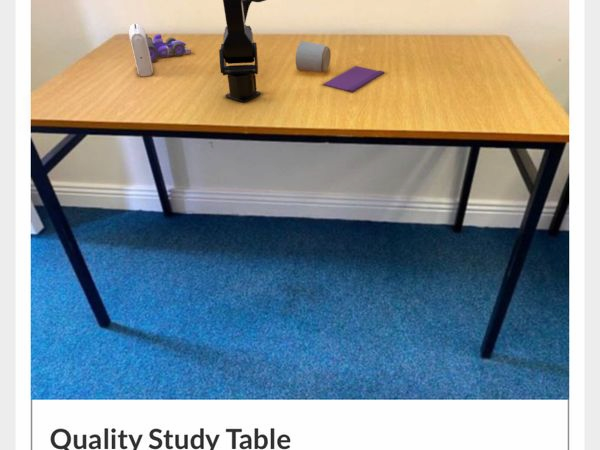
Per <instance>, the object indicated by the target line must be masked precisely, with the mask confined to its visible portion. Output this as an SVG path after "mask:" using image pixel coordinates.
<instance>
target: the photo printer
mask: <svg viewBox="0 0 600 450" xmlns="http://www.w3.org/2000/svg"><path fill="white" fill-rule="evenodd" d="M145 34H146V31H145V28H144V26H142V25H141V24H140V23H132V24H131V25H130V26H129V28H128V38H129V41H130V45H131V49H132V53H133V54H132V55H133V57H134V62H135V66H136V71H137V74H138V76H141V77H151V76H152V75H153V73H154V71H153V63H152V62H151V57H150V52H149V48H148V44H147V39H146V35H145Z"/></svg>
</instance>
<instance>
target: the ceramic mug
mask: <svg viewBox="0 0 600 450" xmlns="http://www.w3.org/2000/svg"><path fill="white" fill-rule="evenodd" d="M331 54H332V53H331V48H330V47H329V46H328V45H325V44H321V43H315V42H310V41H304V40H302V41H300V42H299V43H298V45H297V48H296V52H295V67H296V69H297V71H300V72H308V73H317V74H322V73H323V74H324V73H326V72H327V71H328V69H329V68H330V63H331V56H332V55H331Z"/></svg>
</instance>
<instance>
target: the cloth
mask: <svg viewBox="0 0 600 450" xmlns="http://www.w3.org/2000/svg"><path fill="white" fill-rule="evenodd" d="M384 74H385V71H384V70H376V69H370V68H366V67H362V66H358V65H355V66H353V67H352V68H350V69H348V70H346V71H344V72H342V73H341V74H339V75H337V76H334V77H333V78H332V79H330V80H328V81H326V82H324V83H323V84H322V85H323V86H326V87H329V88H333V89H336V90H340V91H345V92H349V93H351V94H352V93H355V92H356V91H358V90H360V89H361V88H362V87H365V86H366V85H368V84H369V83H370V82H372V81H374V80H376V79H377V78H379V77H381V76H382V75H384Z"/></svg>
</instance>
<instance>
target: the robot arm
mask: <svg viewBox="0 0 600 450" xmlns="http://www.w3.org/2000/svg"><path fill="white" fill-rule="evenodd" d="M265 1H267V0H222V4H223V10H224V16H225V17H224V18H225V24H226V26H225V28H224V32H223V39H222V43H221V44H220V48H219V50H218V54H219V55H218V56H219V68H220V74H222V76H227V81H228V90H229V93H226V94H225V98H226V99H227V98H228V99H231V100H234V101H237V102H239V103H246V102H249V101H250V100H253V99H255V98H257V97H258V96H260V95H262V93H261V91H258V90H257V89H258V87H257V79H256V75H258V74H259V60H258V44H257V42H256V41H254V34H253V31H252V27H251V25H246V21H247V18H248V13H249V10H250V7H251V4H252V2H254V3H262V2H265ZM253 63H254V64H253ZM227 64H228V65H227Z"/></svg>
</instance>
